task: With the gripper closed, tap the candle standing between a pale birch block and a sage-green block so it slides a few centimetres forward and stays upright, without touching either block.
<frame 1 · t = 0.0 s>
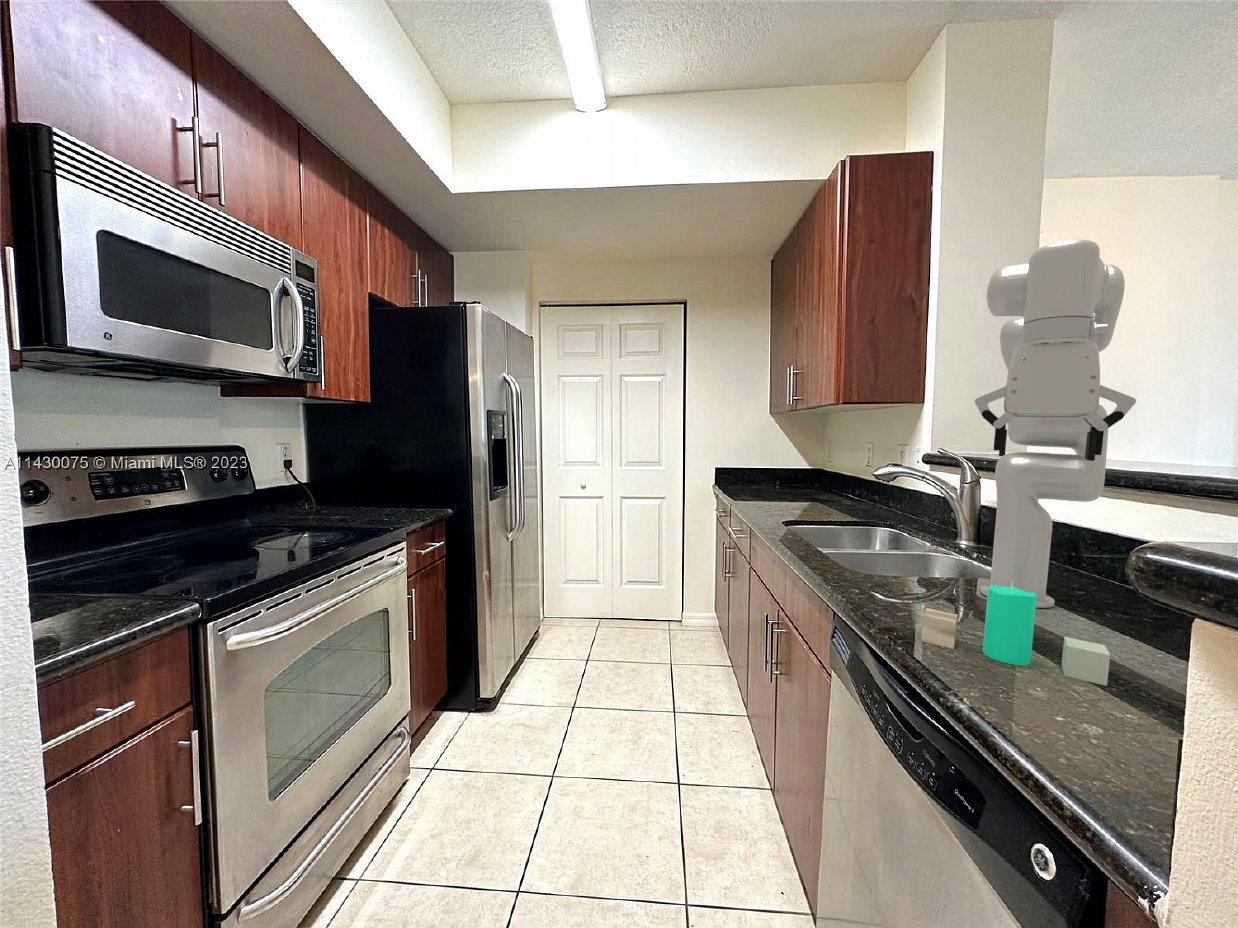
hand: (1043, 458, 73), 31 cm above the counter, tool pointing down, fingers open, 9 cm apart
birch block: (938, 641, 85), on the counter
sage block: (1083, 675, 75), on the counter
candle: (1005, 657, 80), on the counter
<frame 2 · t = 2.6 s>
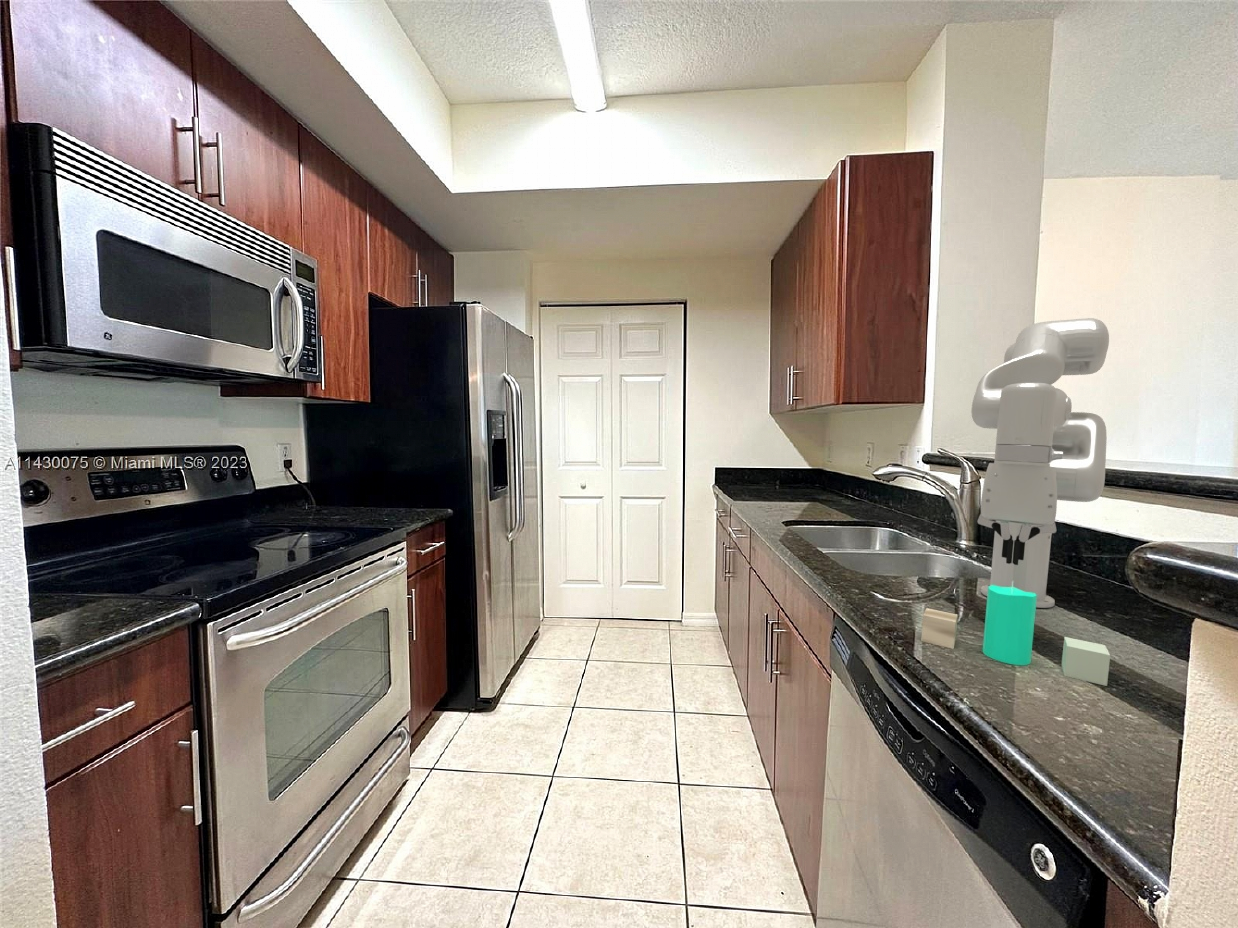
hand: (1011, 562, 88), 13 cm above the counter, tool pointing down, fingers closed
nothing on the counter moved.
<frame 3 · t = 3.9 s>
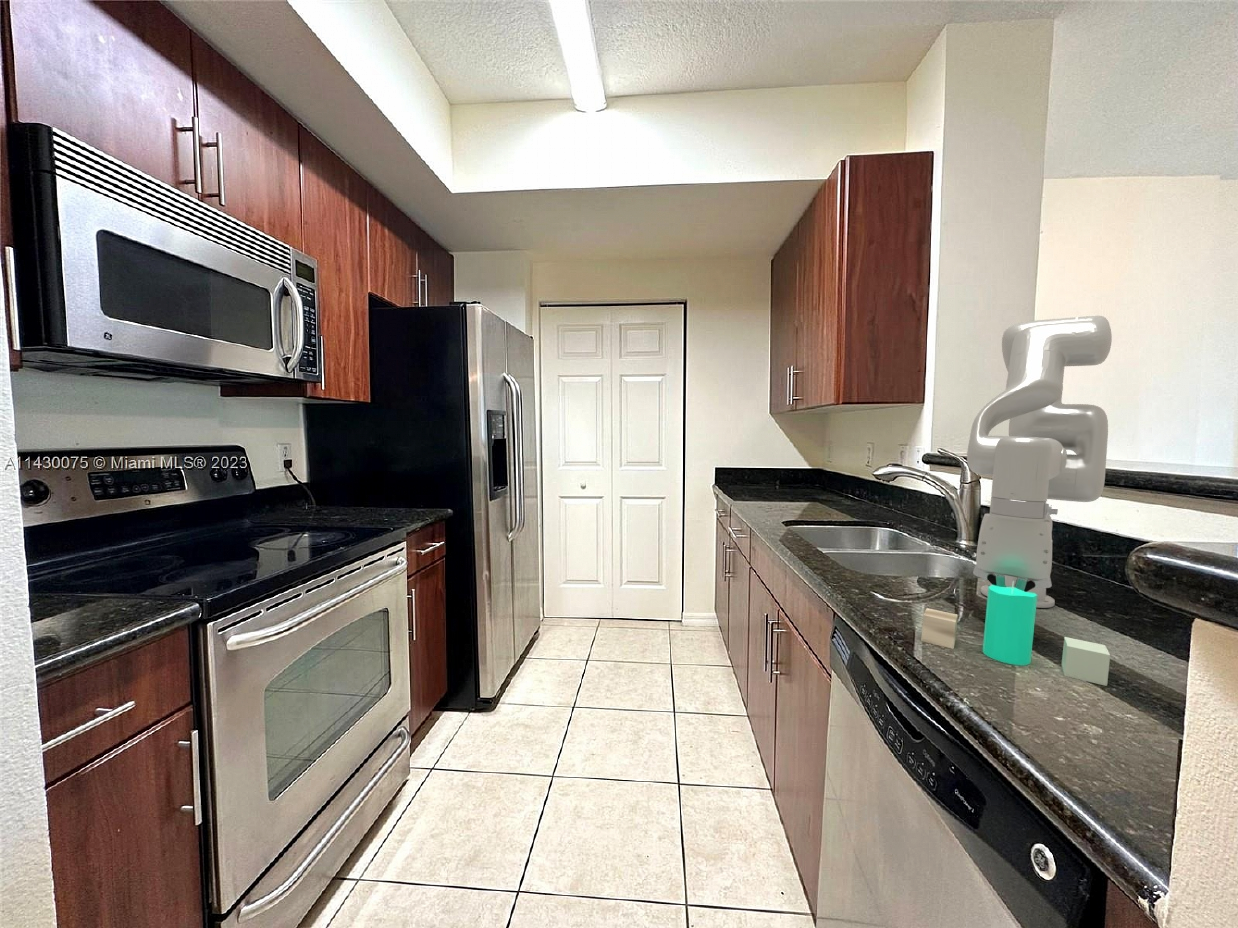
hand: (1007, 614, 88), 4 cm above the counter, tool pointing down, fingers closed
nothing on the counter moved.
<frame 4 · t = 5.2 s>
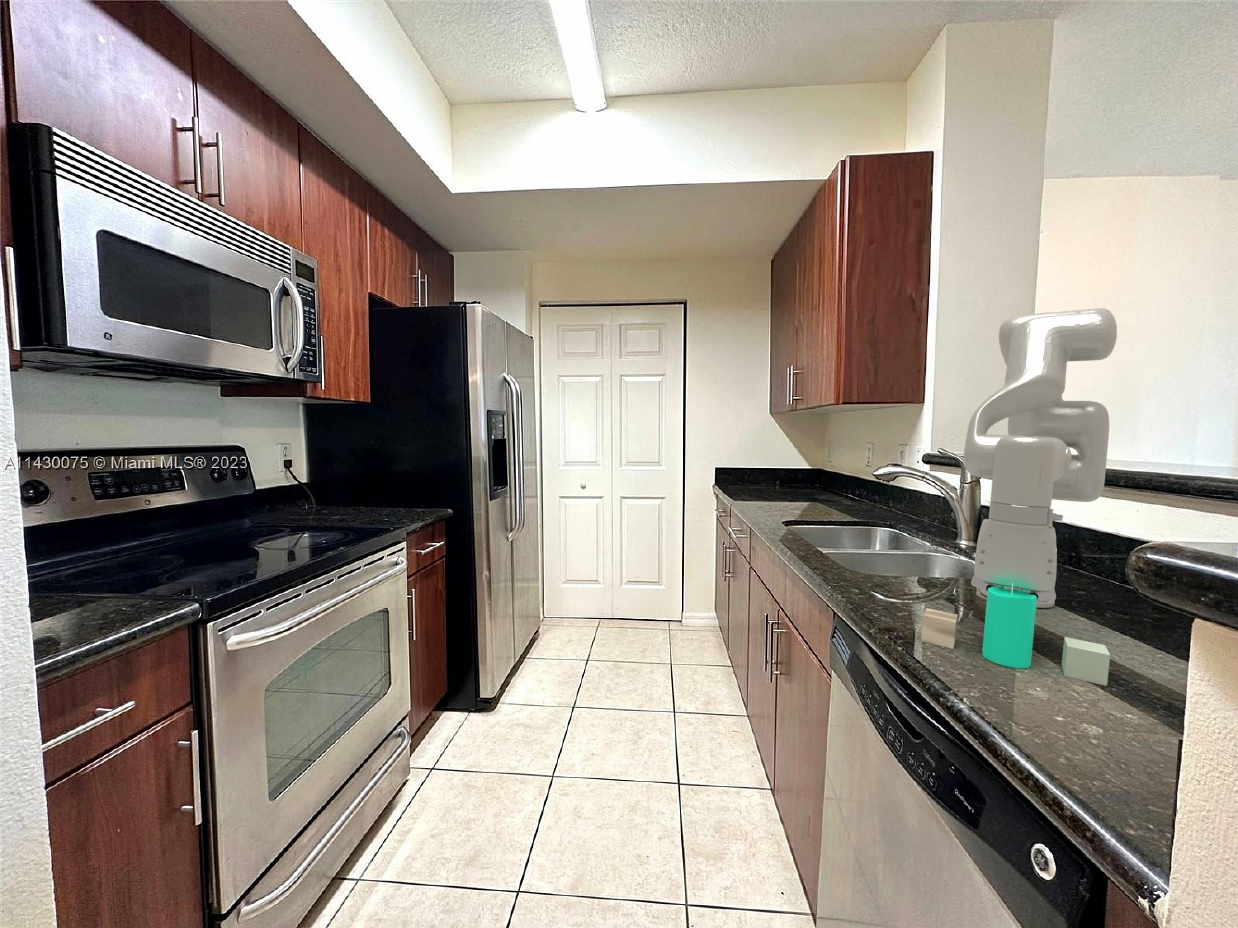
hand: (1008, 629, 82), 4 cm above the counter, tool pointing down, fingers closed
candle: (1005, 660, 79), on the counter, touching gripper
everything else where it was.
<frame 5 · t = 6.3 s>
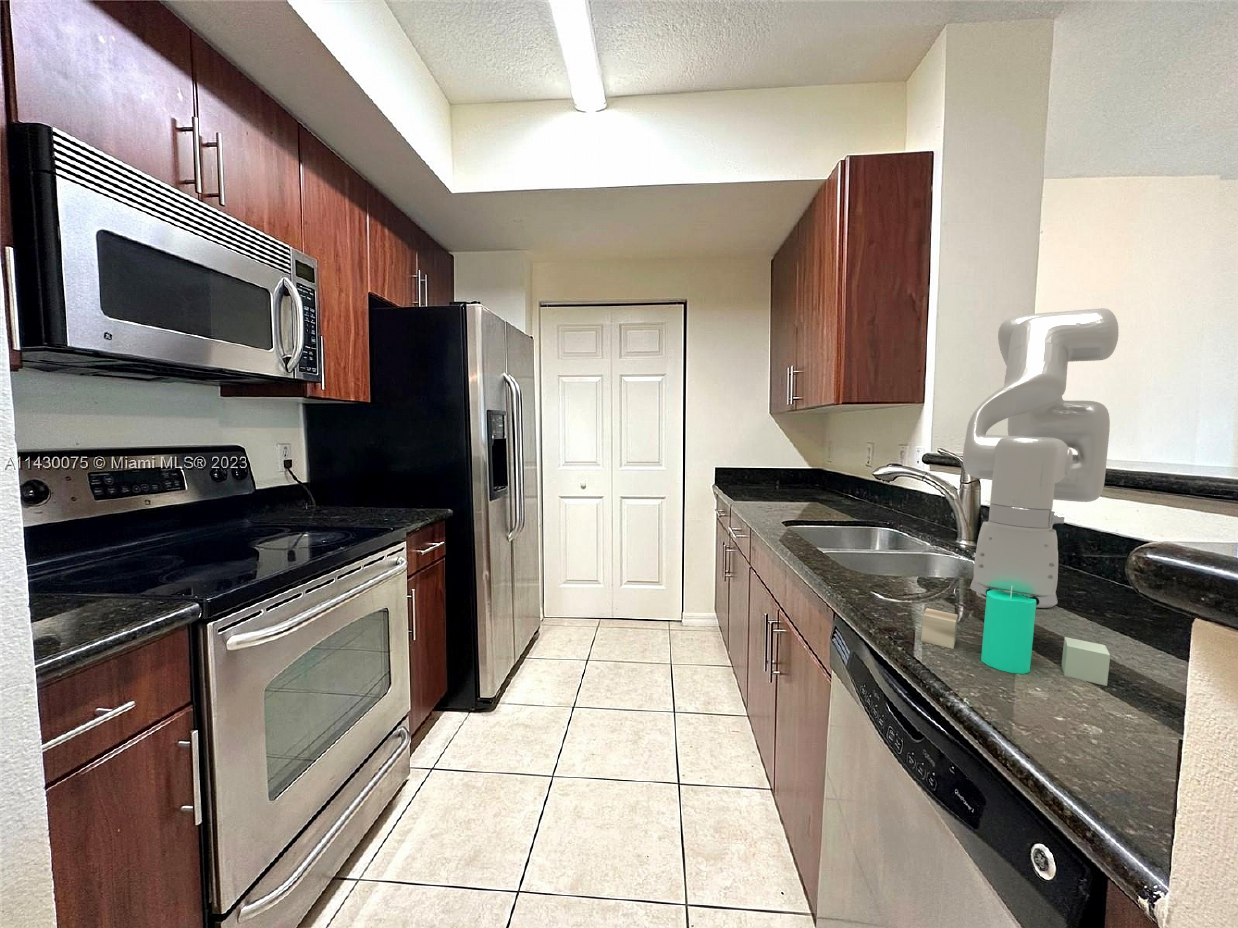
hand: (1008, 634, 80), 4 cm above the counter, tool pointing down, fingers closed
candle: (1004, 665, 77), on the counter, touching gripper
everything else where it was.
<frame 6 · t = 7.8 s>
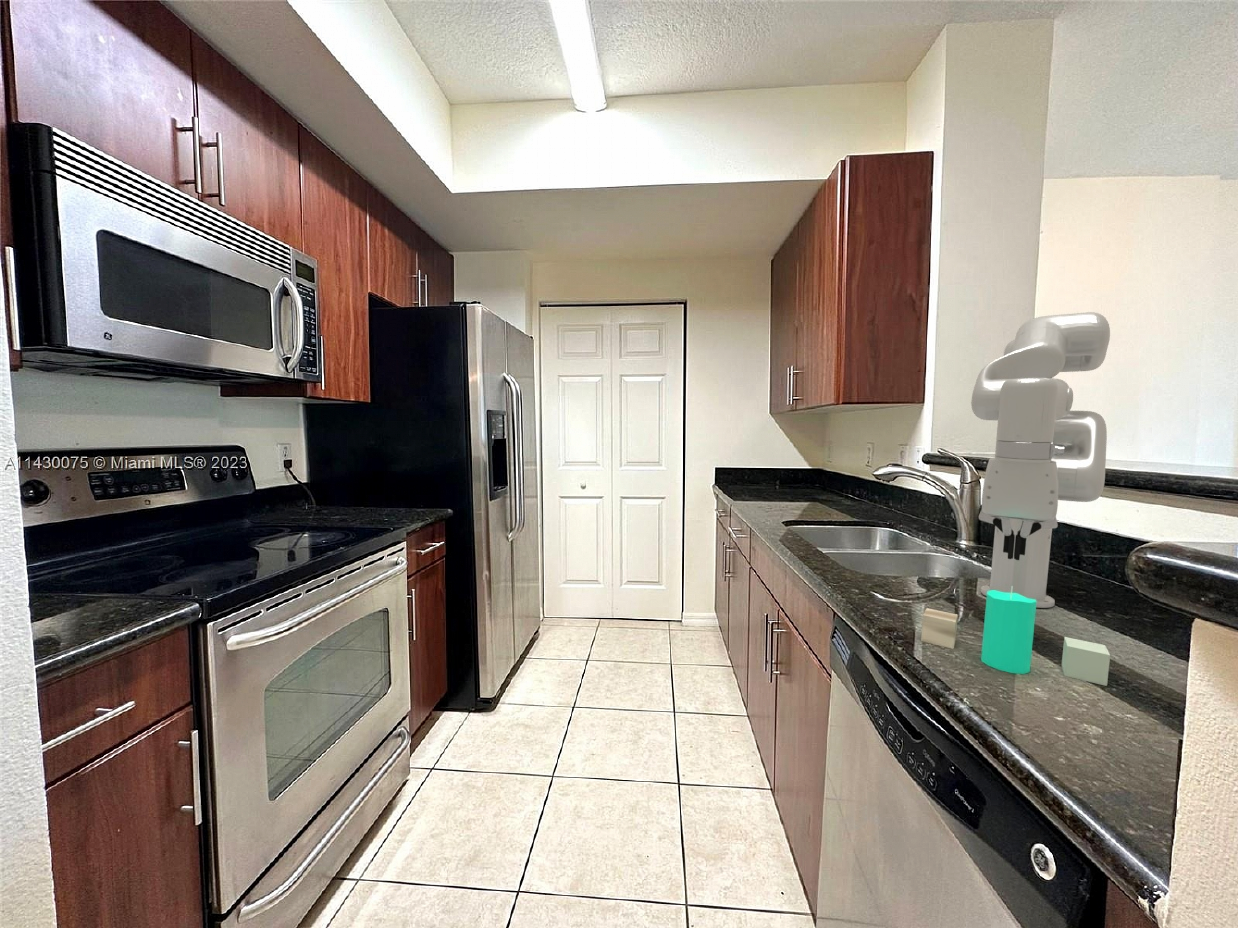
hand: (1013, 557, 89), 14 cm above the counter, tool pointing down, fingers closed
candle: (1004, 665, 77), on the counter
everything else where it was.
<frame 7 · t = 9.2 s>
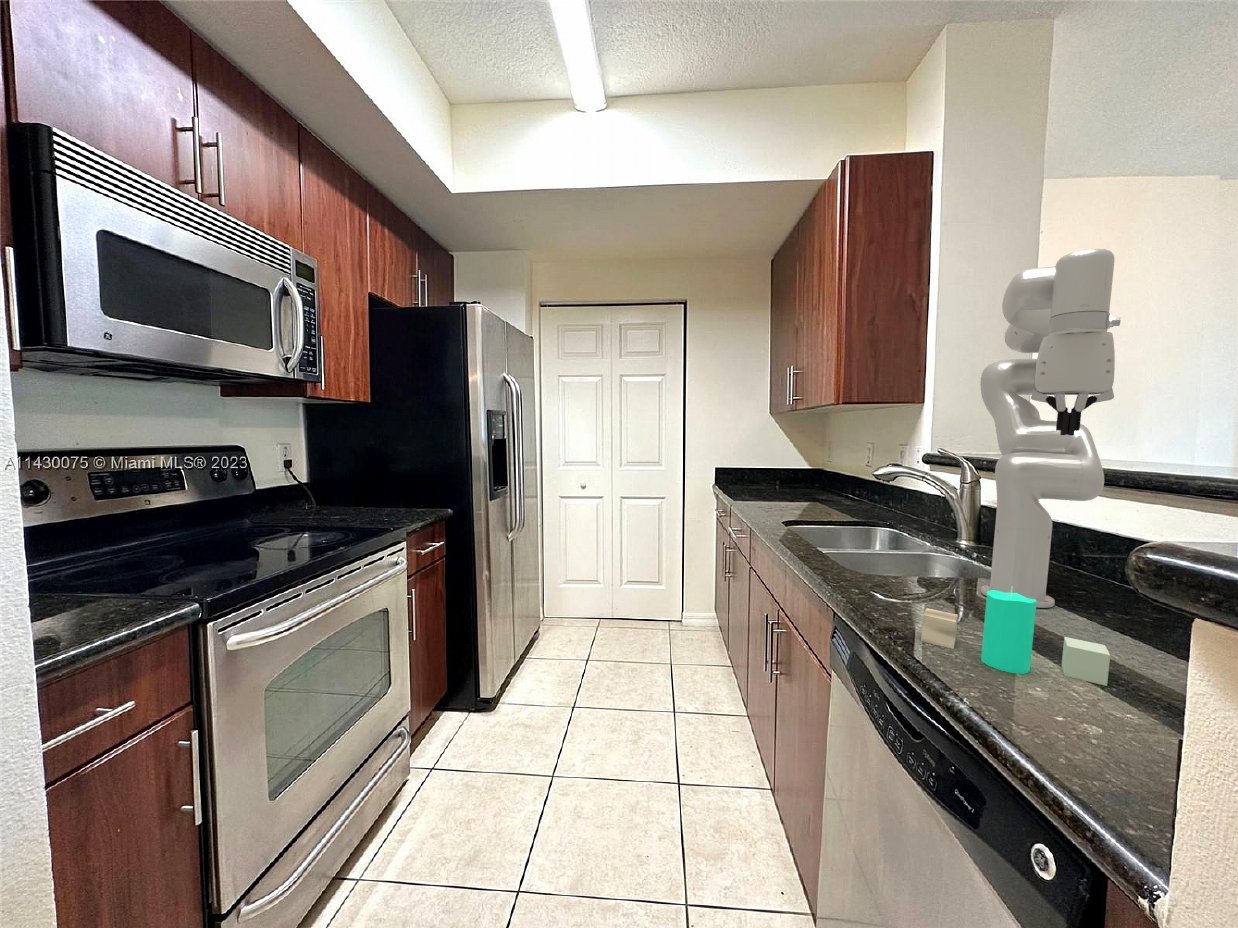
hand: (1067, 435, 89), 35 cm above the counter, tool pointing down, fingers closed
nothing on the counter moved.
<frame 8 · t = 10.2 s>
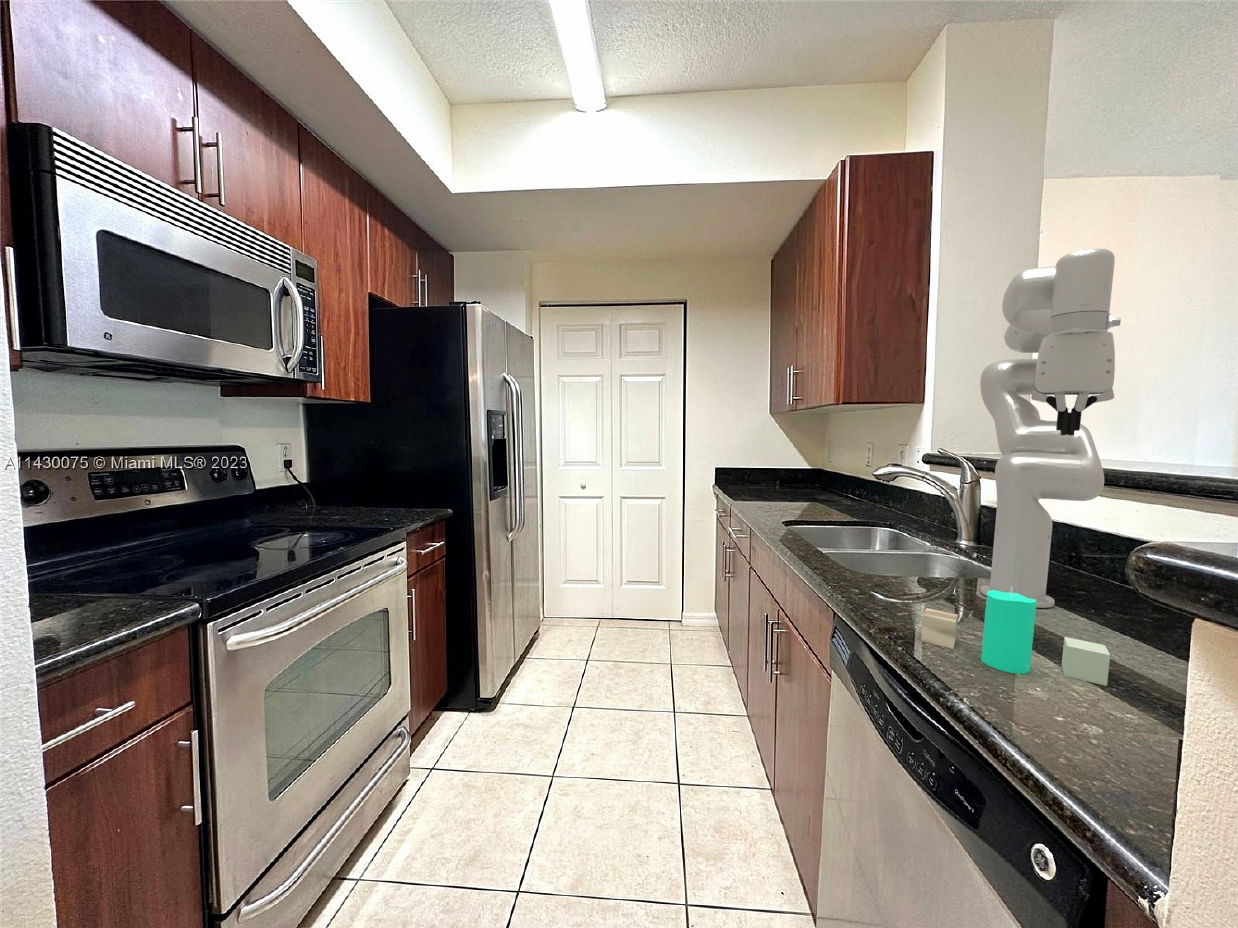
hand: (1067, 434, 89), 35 cm above the counter, tool pointing down, fingers closed
nothing on the counter moved.
at the end: candle 1.7 cm from the target spot, on the counter; candle tilted 0°; sage block moved 0.1 cm from its start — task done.
